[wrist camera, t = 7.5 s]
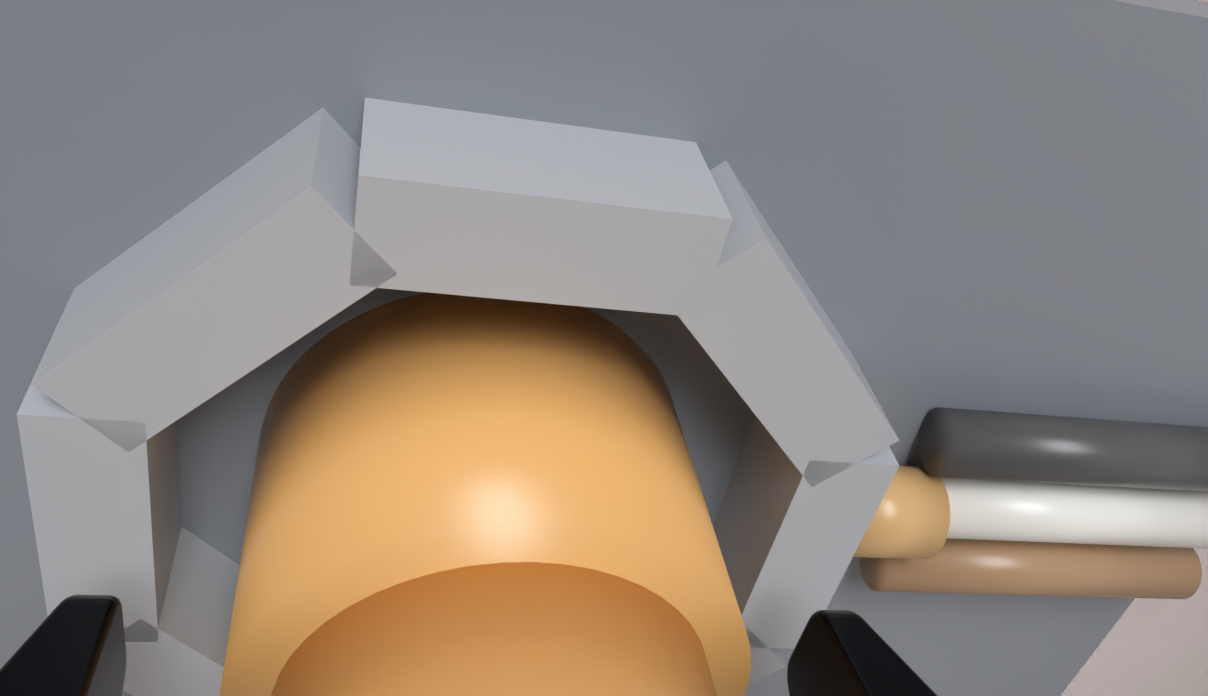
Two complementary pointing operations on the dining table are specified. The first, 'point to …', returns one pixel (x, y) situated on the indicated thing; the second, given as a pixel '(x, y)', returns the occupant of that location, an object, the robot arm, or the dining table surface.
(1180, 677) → the dining table surface
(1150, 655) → the dining table surface
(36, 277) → the junction socket
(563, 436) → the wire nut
